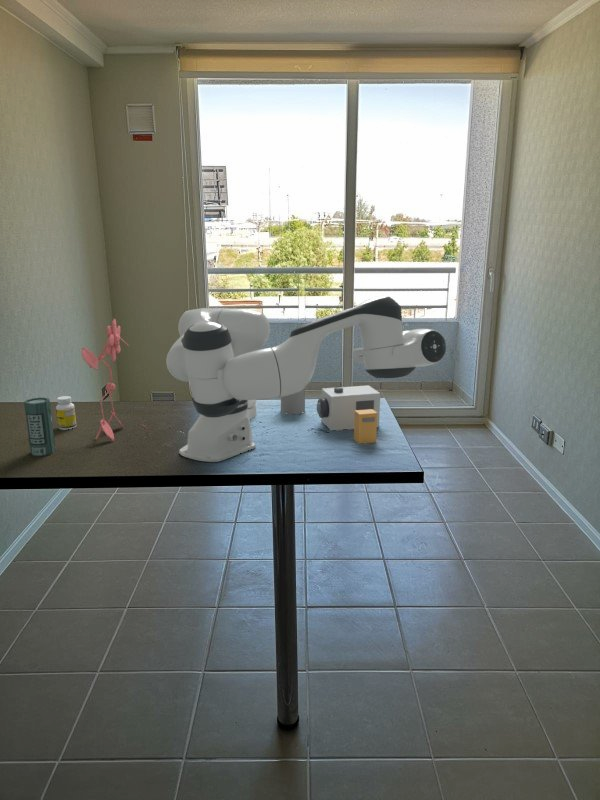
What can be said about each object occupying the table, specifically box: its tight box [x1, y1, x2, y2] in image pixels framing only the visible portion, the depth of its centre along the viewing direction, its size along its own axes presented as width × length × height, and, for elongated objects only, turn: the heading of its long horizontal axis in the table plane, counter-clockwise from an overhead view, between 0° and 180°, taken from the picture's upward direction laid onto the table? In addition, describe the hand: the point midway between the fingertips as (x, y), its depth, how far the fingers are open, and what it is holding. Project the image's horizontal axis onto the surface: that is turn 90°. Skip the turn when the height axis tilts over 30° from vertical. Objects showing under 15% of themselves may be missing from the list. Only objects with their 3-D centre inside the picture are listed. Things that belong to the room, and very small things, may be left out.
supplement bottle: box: [55, 395, 77, 431], centre depth 185 cm, size 5×5×10 cm
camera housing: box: [316, 385, 381, 431], centre depth 188 cm, size 10×19×12 cm, turn 105°
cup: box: [280, 387, 306, 415], centre depth 203 cm, size 8×8×10 cm
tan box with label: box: [353, 409, 378, 445], centre depth 174 cm, size 4×6×9 cm
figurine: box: [81, 318, 149, 446], centre depth 176 cm, size 15×26×35 cm, turn 179°
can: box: [23, 397, 56, 457], centre depth 164 cm, size 6×6×15 cm
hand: (380, 351), depth 159 cm, fingers open, 8 cm apart
